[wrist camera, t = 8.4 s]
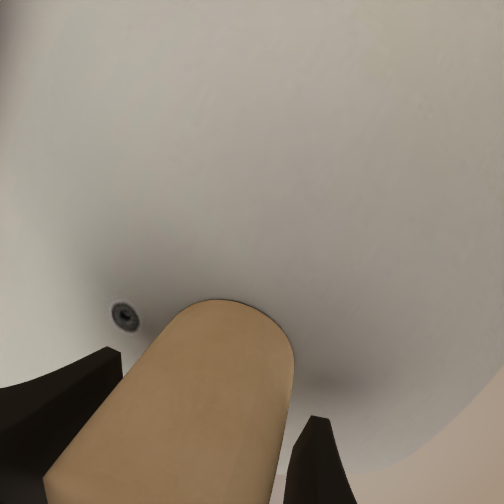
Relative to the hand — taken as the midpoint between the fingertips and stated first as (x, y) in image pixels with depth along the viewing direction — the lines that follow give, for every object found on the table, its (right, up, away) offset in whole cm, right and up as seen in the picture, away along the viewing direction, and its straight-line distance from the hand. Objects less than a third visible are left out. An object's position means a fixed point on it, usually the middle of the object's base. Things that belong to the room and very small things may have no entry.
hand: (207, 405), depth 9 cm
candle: (+1, +1, +3) cm, 3 cm away
